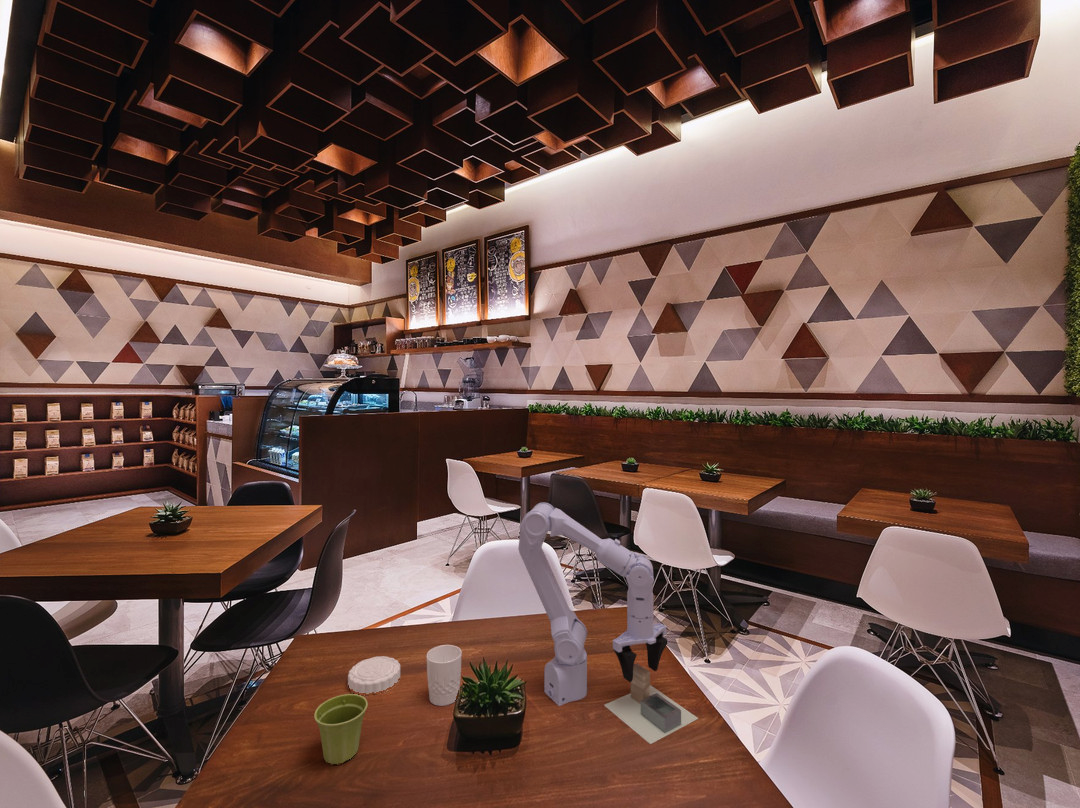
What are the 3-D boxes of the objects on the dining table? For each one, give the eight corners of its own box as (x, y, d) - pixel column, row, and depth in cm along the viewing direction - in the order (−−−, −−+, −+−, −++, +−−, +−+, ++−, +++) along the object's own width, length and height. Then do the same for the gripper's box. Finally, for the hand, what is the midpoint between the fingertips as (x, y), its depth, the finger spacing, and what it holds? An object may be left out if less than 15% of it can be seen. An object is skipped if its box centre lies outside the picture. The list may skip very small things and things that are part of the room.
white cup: (423, 691, 110) (423, 648, 110) (457, 683, 113) (457, 641, 113) (430, 711, 103) (430, 666, 103) (465, 702, 106) (465, 658, 106)
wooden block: (643, 706, 103) (643, 674, 103) (630, 696, 106) (630, 665, 106) (650, 703, 104) (650, 671, 104) (637, 693, 107) (637, 663, 107)
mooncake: (348, 702, 106) (348, 686, 106) (347, 674, 117) (347, 660, 117) (403, 689, 111) (403, 674, 111) (397, 663, 122) (397, 650, 122)
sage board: (650, 749, 92) (650, 744, 92) (603, 709, 103) (603, 705, 103) (698, 723, 99) (698, 718, 99) (649, 688, 111) (649, 684, 111)
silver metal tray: (664, 733, 95) (664, 718, 95) (640, 714, 100) (640, 700, 100) (681, 724, 97) (681, 710, 97) (656, 706, 103) (656, 692, 103)
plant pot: (328, 735, 95) (328, 692, 95) (374, 736, 95) (374, 693, 95) (304, 771, 86) (304, 724, 86) (355, 773, 86) (355, 725, 86)
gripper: (628, 628, 98) (628, 694, 98) (676, 612, 106) (677, 672, 106) (606, 615, 104) (606, 677, 104) (653, 600, 112) (653, 658, 112)
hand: (640, 674), depth 105 cm, fingers open, 7 cm apart
